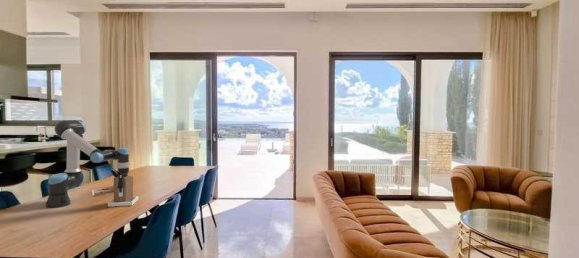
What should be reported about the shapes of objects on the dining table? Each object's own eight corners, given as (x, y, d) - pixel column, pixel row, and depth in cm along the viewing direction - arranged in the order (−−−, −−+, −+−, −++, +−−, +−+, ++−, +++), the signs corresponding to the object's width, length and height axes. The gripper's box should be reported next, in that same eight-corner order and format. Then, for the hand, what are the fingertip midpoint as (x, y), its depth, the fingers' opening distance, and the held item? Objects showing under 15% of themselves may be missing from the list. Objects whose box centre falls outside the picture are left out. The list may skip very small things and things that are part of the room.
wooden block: (133, 200, 247) (133, 175, 246) (125, 203, 237) (125, 178, 236) (121, 199, 247) (121, 175, 246) (113, 203, 238) (113, 177, 237)
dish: (107, 206, 232) (107, 202, 232) (115, 200, 249) (115, 196, 248) (132, 205, 236) (132, 202, 235) (138, 199, 252) (138, 196, 252)
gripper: (123, 170, 229) (123, 198, 230) (133, 164, 254) (133, 190, 255) (112, 170, 228) (112, 198, 229) (123, 164, 252) (123, 190, 253)
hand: (123, 194), depth 242 cm, fingers open, 13 cm apart
